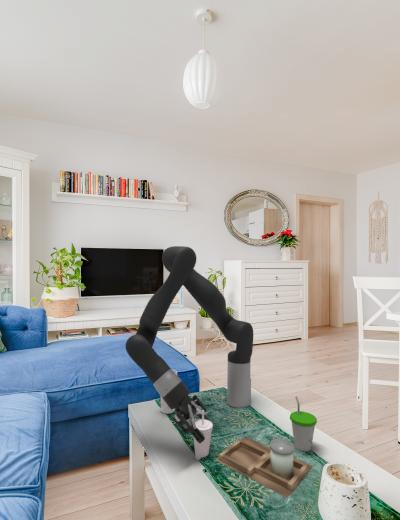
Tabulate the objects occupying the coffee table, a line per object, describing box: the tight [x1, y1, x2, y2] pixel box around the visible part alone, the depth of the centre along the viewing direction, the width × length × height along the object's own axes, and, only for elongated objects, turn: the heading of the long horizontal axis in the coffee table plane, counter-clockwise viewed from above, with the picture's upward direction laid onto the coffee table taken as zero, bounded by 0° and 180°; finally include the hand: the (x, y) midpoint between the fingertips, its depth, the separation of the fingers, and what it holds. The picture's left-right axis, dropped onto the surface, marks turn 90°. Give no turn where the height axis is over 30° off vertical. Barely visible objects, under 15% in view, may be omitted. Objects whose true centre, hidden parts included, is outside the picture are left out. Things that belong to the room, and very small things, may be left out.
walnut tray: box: [215, 436, 314, 499], centre depth 91 cm, size 16×22×3 cm
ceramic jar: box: [269, 438, 295, 479], centre depth 88 cm, size 6×6×7 cm
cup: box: [289, 395, 318, 453], centre depth 99 cm, size 8×8×15 cm
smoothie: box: [192, 409, 214, 461], centre depth 96 cm, size 6×6×14 cm
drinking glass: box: [160, 368, 178, 415], centre depth 124 cm, size 7×7×15 cm
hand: (207, 434), depth 95 cm, fingers open, 7 cm apart
